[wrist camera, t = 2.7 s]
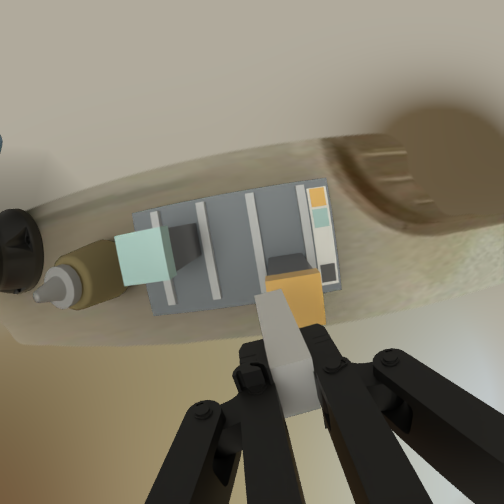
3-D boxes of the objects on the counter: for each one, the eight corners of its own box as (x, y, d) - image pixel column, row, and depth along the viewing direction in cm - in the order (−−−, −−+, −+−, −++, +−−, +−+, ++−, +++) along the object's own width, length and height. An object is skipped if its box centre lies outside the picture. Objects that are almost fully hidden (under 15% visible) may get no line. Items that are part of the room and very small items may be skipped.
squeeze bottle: (88, 251, 40) (3, 274, 23) (127, 227, 40) (43, 240, 22) (110, 299, 41) (35, 345, 23) (151, 278, 40) (80, 322, 23)
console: (159, 310, 41) (150, 318, 37) (139, 213, 39) (128, 213, 36) (337, 284, 39) (343, 291, 35) (322, 179, 37) (327, 176, 34)
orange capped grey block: (272, 291, 37) (273, 332, 24) (266, 256, 36) (264, 281, 23) (307, 285, 36) (326, 324, 24) (302, 250, 36) (320, 272, 23)
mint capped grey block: (170, 261, 37) (124, 286, 24) (164, 227, 36) (114, 236, 24) (203, 256, 37) (169, 279, 24) (197, 220, 36) (159, 226, 23)
